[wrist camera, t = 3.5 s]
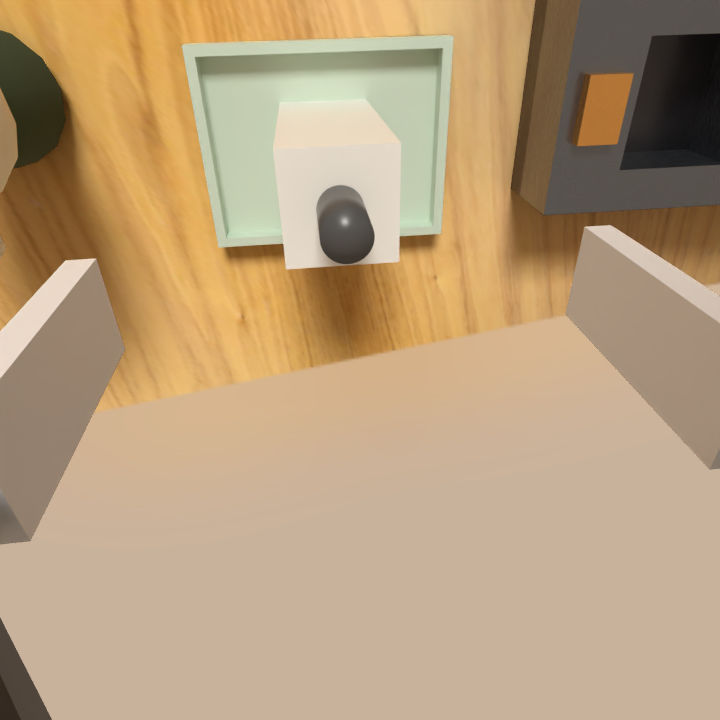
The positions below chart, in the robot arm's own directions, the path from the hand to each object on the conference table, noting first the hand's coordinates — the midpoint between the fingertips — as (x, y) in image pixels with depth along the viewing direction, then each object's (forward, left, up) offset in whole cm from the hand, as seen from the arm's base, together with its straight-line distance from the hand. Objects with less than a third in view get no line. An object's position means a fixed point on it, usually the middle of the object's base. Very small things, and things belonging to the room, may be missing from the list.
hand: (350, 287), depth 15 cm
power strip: (-2, +24, -18) cm, 30 cm away
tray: (0, 0, -18) cm, 18 cm away
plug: (0, 0, -17) cm, 17 cm away
